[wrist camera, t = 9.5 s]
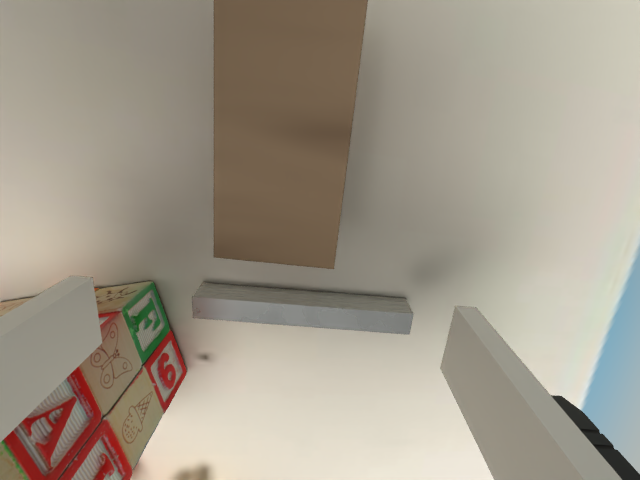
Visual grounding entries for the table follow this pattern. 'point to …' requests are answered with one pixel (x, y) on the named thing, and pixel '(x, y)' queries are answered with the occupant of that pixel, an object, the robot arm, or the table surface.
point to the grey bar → (302, 308)
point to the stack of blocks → (102, 396)
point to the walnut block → (283, 126)
